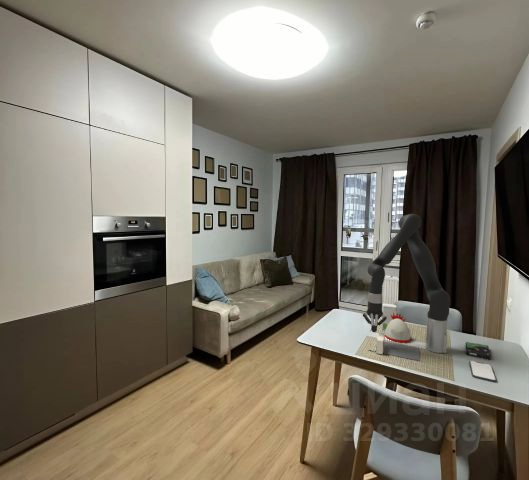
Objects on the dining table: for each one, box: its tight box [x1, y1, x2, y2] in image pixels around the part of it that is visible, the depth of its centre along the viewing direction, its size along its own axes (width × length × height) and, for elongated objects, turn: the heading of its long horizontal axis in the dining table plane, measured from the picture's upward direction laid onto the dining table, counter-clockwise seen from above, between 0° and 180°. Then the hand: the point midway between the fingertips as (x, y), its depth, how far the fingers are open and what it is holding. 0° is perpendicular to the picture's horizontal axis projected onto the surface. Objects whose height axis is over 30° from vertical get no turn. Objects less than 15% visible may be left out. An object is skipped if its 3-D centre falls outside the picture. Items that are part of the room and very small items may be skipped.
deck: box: [375, 333, 386, 355], centre depth 154 cm, size 3×7×10 cm
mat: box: [383, 341, 420, 362], centre depth 156 cm, size 24×16×1 cm, turn 63°
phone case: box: [468, 360, 498, 383], centre depth 134 cm, size 9×2×16 cm
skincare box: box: [380, 302, 398, 331], centre depth 185 cm, size 8×7×16 cm
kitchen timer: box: [384, 312, 412, 344], centre depth 171 cm, size 14×14×15 cm
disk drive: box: [465, 341, 492, 361], centre depth 154 cm, size 10×3×15 cm
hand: (374, 331), depth 160 cm, fingers closed
